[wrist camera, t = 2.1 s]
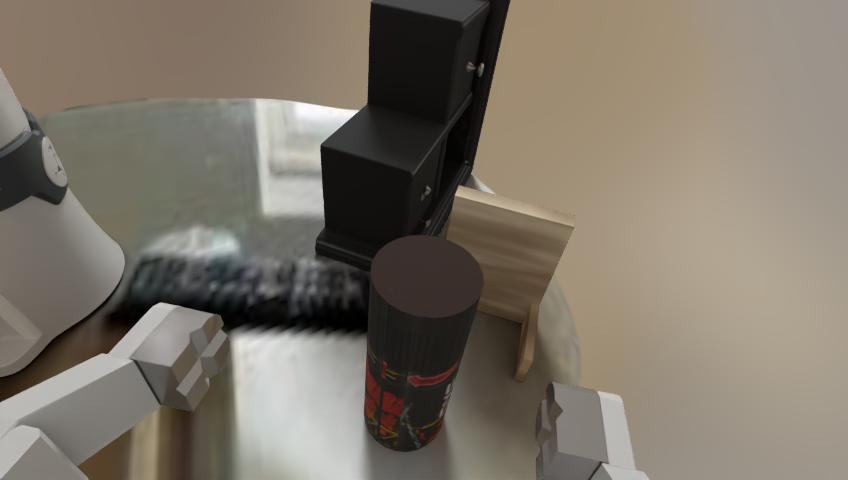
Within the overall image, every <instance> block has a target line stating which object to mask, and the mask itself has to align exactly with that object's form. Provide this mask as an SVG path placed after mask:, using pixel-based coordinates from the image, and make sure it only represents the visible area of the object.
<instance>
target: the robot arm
mask: <svg viewBox="0 0 848 480" xmlns="http://www.w3.org/2000/svg"><path fill="white" fill-rule="evenodd" d="M124 264H125V260H124V254H123V252H122V250H121V248H120V246H119V245H118V244H117V243H116V242H115V241H114V240H113V239H111V238H110V237H109V236H108V235H107V234H106V233H105V232H104V231H103V230H102V229H101V228H100V227H99V226H98V225H97V224H96V223H95V222H94V221H93V219H92V218H91V217H90V216H89V215H88V213H87V212H86V211H85V210H84V208H83V207H82V206H81V204H80V203H79V202H78V200H77V199H76V198H75V196H74V195H73V193H72V192H71V190H70V189H69V187H68V182H67V177H66V173H65V171H64V168H63V166H62V164H61V162H60V160H59V158H58V156H57V154H56V152H55V150H54V148H53V146H52V144H51V142H50V140H49V139H48V137H46V136H45V135H44V133H43V131H42V129H41V128H40V126H39V124H38V122H37V121H36V119H35V117H34V116H33V115H32V114H31V113H30V112H29V111H28V110H26V109H24V108H22V107H21V106H20V104H19V102H18V100H17V98H16V96H15V94H14V92H13V91H12V89H11V87H10V85H9V83H8V81H7V79H6V77H5V76H4V74H3V72H2V70H1V68H0V377H3V376H8V375H11V374H14V373H16V372H18V371H20V370H21V369H23V368H24V367H25V366H27V365H28V364H29V363H30V362H31V361H32V360H33V359H34V358H35V357H36V356H37V355H38V354H39V353H40V352H41V351H42V350H43V349H44V348H45V347H46V346H47V345H48V343H49V342H50V341H51V340H52V339H54V338H55V337H56V336H57V335H59V334H60V333H62V332H63V331H65V330H66V329H68V328H69V327H71V326H73V325H74V324H76V323H77V322H79V321H80V320H82V319H83V318H85V317H86V316H87V315H89V314H90V313H91V312H93V311H94V310H95V309H96V308H97V307H98V306H99V305H101V304H102V303H103V302H104V301H105V300H106V299H107V298H108V296H109V295H110V294H111V293H112V292H113V290H114V289H115V287H116V286H117V284H118V283H119V281H120V279H121V276H122V274H123V270H124ZM222 326H223V321H222V319H221V317H220V315H216V314H211V313H207V312H202V311H198V310H193V309H188V308H184V307H180V306H175V305H170V304H165V303H159V304H157V305H155V306H153V307H152V308H151V309H150V310H149V311H148V312H147V313H146V314H145V315H144V316H143V317H142V318H141V319H140V320H139V322H138V323H137V324H136V325H135V326H134V327H133V328H132V329H131V330H130V331H129V332H128V333H127V334H126V335H125V336H124V337H123V339H122V340H121V341H120V342H119V343H118V344H117V345H116V346H115V347H114V348H113V349H112V350H111V351H110V352H109V353H108V354H100V355H98V356H96V357H93V358H91V359H89V360H87V361H85V362H83V363H81V364H79V365H77V366H75V367H73V368H71V369H69V370H67V371H65V372H62V373H60V374H58V375H56V376H54V377H52V378H50V379H48V380H46V381H44V382H42V383H40V384H38V385H36V386H33V387H31V388H29V389H27V390H25V391H23V392H21V393H19V394H17V395H15V396H13V397H11V398H9V399H7V400H5V401H2V402H0V480H89V479H88V478H87V477H86V476H85V475H84V474H83V473H82V472H81V471H80V470H79V469H78V468H77V466H78V465H79V464H81V463H82V462H84V461H85V460H86V459H88V458H89V457H91V456H92V455H93V454H95V453H96V452H98V451H99V450H101V449H102V448H103V447H105V446H106V445H108V444H109V443H110V442H112V441H113V440H115V439H116V438H117V437H119V436H120V435H122V434H123V433H124V432H126V431H127V430H129V429H130V428H132V427H133V426H134V425H136V424H137V423H139V422H140V421H141V420H143V419H144V418H146V417H147V416H148V415H150V414H151V413H153V412H154V411H156V410H157V409H158V408H160V405H164V406H169V407H174V408H179V409H184V410H189V411H194V409H195V408H196V406H197V405H198V403H199V402H200V400H201V399H202V397H203V396H204V394H205V393H206V391H207V390H208V388H209V379H208V378H210V377H211V376H213V375H215V374H216V373H218V372H220V370H221V368H222V367H223V365H224V364H225V362H226V359H227V356H228V353H229V349H230V342H229V339H228V336H227V335H226V334H225V333H224V332H223V331H222V330H221V327H222ZM546 398H547V399H544V400H542V401H541V403H540V406H539V409H538V413H537V419H536V442H537V443H538V445H539V446H540V448H541V450H540V452H539V454H538V457H537V459H536V480H649V479H648V477H647V476H646V474H645V473H644V472H641V471H638V470H636V465H635V460H634V455H633V450H632V445H631V440H630V435H629V430H628V425H627V420H626V414H625V410H624V405H623V400H622V399H621V397H620V396H619V395H616V394H611V393H605V392H599V391H595V390H593V389H588V388H583V387H577V386H572V385H566V384H561V383H556V382H551V383H550V384H549V385H548V387H547V390H546Z"/></svg>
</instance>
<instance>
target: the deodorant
mask: <svg viewBox="0 0 848 480" xmlns="http://www.w3.org/2000/svg"><path fill="white" fill-rule="evenodd" d="M483 286H484V278H483V272H482V270H481V267H480V265H479V263H478V262H477V260H476V259H475V258H474V257H473V256H472V254H471V253H469V252H468V251H467V250H465V249H464V248H463V247H462V246H460V245H458V244H456V243H454V242H452V241H450V240H447V239H443V238H440V237H436V236H428V235H413V236H406V237H402V238H398V239H396V240H394V241H392V242H390V243H388V244H386V245H385V246H384V247H383V248H381V249H380V250H379V251H378V252H377V254H376V256H375V257H374V259H373V261H372V265H371V270H370V289H369V312H368V335H367V357H366V380H365V403H364V415H365V423H366V425H367V427H368V430H369V432H370V433H371V434H372V436H373V437H374V438H375V440H376V441H378V442H379V443H380V444H382V445H383V446H385V447H387V448H389V449H392V450H395V451H404V452H407V451H413V450H418V449H420V448H422V447H424V446H426V445H427V444H428V443H430V442H431V441H432V440H433V439H434V438H435V437H436V435H437V433H438V432H439V430H440V428H441V425H442V421H443V418H444V415H445V411H446V408H447V405H448V401H449V398H450V395H451V392H452V388H453V385H454V382H455V378H456V375H457V372H458V369H459V365H460V362H461V359H462V355H463V352H464V349H465V345H466V342H467V339H468V336H469V332H470V329H471V326H472V322H473V319H474V316H475V312H476V309H477V306H478V303H479V299H480V296H481V293H482V289H483Z"/></svg>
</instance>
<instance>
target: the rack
mask: <svg viewBox="0 0 848 480" xmlns="http://www.w3.org/2000/svg"><path fill="white" fill-rule="evenodd" d="M574 224H575V215H571V214H568V213H564V212H560V211H556V210H552V209H548V208H545V207H541V206H537V205H533V204H529V203H525V202H521V201H518V200H514V199H510V198H506V197H502V196H498V195H495V194H491V193H487V192H483V191H479V190H475V189H471V188H468V187H464V186H460V185H459V187H458V189H457V191H456V194H455V197H454V202H453V207H452V212H451V217H450V222H449V227H448V232H447V237H446V239H447V240H450V241H452V242H454V243H456V244H458V245H460V246H462V247H463V248H464V249H465V250H467V251H468V252H469V253H471V254H472V256H473V257H474V258H475V259H476V260H477V262H478V263H479V265H480V267H481V270H482V272H483V278H484V286H483V289H482V293H481V296H480V299H479V303H478V306H477V309H476V310H478V311H481V312H485V313H488V314H491V315H495V316H498V317H501V318H505V319H508V320H511V321H515V322H518V323H521V324H522V330H521V337H520V343H519V350H518V357H517V364H516V371H515V377H514V379H516V380H519V381H522V382H523V380H524V378H525V376H526V374H527V372H528V370H529V368H530V366H531V364H532V362H533V356H534V347H535V338H536V329H537V321H538V312H539V305H540V302H541V300H542V298H543V296H544V294H545V291H546V289H547V287H548V285H549V282H550V280H551V278H552V276H553V274H554V271H555V269H556V267H557V265H558V262H559V260H560V258H561V256H562V253H563V251H564V249H565V247H566V245H567V242H568V240H569V238H570V236H571V233H572V231H573V229H574V226H575V225H574Z"/></svg>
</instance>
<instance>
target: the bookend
mask: <svg viewBox="0 0 848 480" xmlns="http://www.w3.org/2000/svg"><path fill="white" fill-rule="evenodd" d="M509 4H510V0H373V1H371V13H370V36H369V73H368V103H367V105H366V106H365V107H363V108H362V109H361V110H360V111H359V112H358V113H356V114H355V115H354V116H353V117H352V118H351V119H350V120H348V121H347V122H346V123H345V124H344V125H343V126H341V127H340V128H339V129H338V130H337V131H336V132H334V133H333V134H332V135H331V136H330V137H329V138H328V139H326V140H325V141H324V142H323V143H322V144H321V150H320V152H321V168H322V184H323V199H324V216H325V228H324V229H323V230H322V231H321V233H320V234H319V236H318V237H317V239H316V246H315V251H316V252H317V253H319V254H322V255H325V256H327V257H330V258H333V259H336V260H339V261H342V262H345V263H347V264H350V265H353V266H355V267H358V268H361V269H364V270H367V271H370V270H371V265H372V261H373V259H374V257H375V256H376V254H377V252H378V251H379V250H380V249H381V248H383V247H384V246H385V245H386V244H388V243H390V242H392V241H394V240H396V239H398V238H402V237H406V236H413V235H428V236H436V237H437V235H438V234H439V232H440V230H441V228H442V227H443V225H444V222H445V221H446V220H447V218H448V216H449V214H450V212H451V210H452V207H453V202H454V197H455V194H456V191H457V189H458V187H459V185H460V186H464V185H465V183H466V182H467V180H468V178H469V176H470V174H471V172H472V169H473V165H474V160H475V156H476V151H477V146H478V142H479V137H480V133H481V128H482V124H483V120H484V115H485V111H486V106H487V102H488V97H489V93H490V88H491V84H492V79H493V74H494V70H495V66H496V61H497V56H498V52H499V47H500V43H501V39H502V34H503V30H504V25H505V20H506V17H507V12H508V8H509Z"/></svg>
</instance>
